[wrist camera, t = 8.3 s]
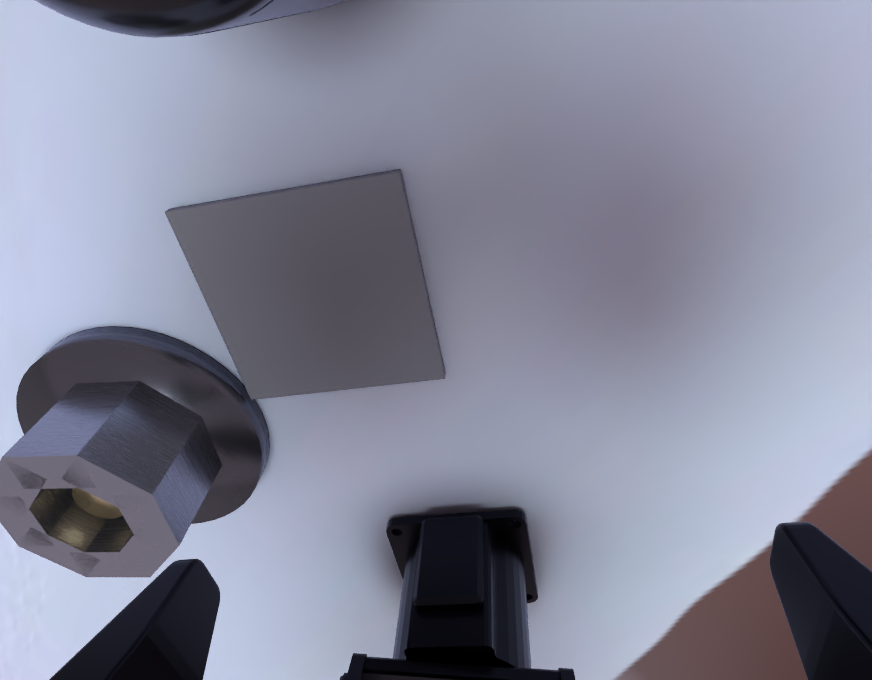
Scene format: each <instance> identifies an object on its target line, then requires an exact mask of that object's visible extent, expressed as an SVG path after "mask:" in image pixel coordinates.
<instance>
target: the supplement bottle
mask: <svg viewBox="0 0 872 680" xmlns="http://www.w3.org/2000/svg"><path fill="white" fill-rule="evenodd" d="M35 1H37V2H39V3H40V4H42V5H44V6H46V7H48V8H50V9H52V10H54V11H56V12H58V13H60V14H62V15H64V16H67V17H69V18H72V19H75V20H77V21H80V22H82V23H85V24H87V25H91V26H94V27H98V28H101V29H105V30H108V31H111V32H116V33H121V34H127V35H133V36H143V37H178V36H192V35H198V34H204V33H210V32H215V31H220V30H225V29H229V28H234V27H239V26H244V25H248V24H253V23H258V22H263V21H267V20H272V19H277V18H282V17H286V16H291V15H296V14H301V13H305V12H308V11H309V12H310V11H313V10H318V9H322V8H325V7H328V6H332V5H335V4H338V3H340V2H342V1H345V0H35Z"/></svg>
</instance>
